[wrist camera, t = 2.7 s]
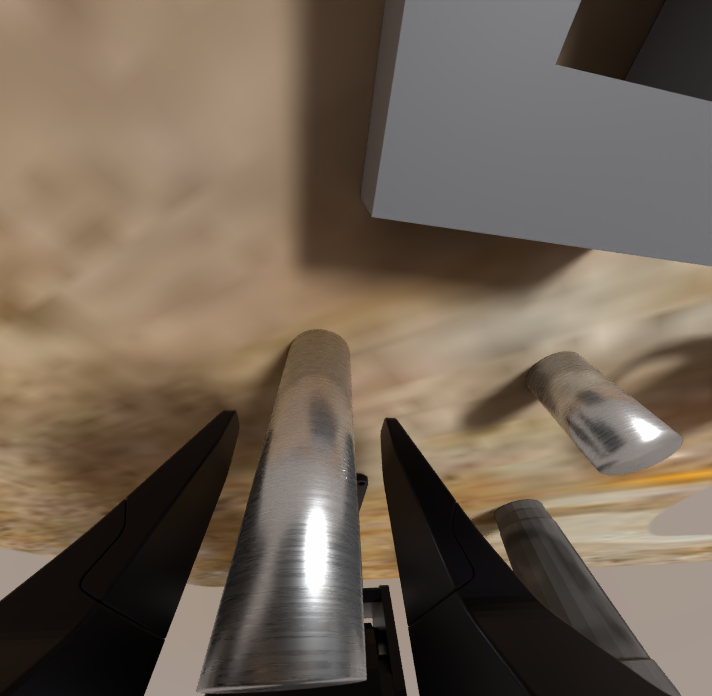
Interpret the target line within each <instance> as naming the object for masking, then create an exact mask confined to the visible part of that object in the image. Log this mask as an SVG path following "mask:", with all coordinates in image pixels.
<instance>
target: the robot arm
mask: <svg viewBox="0 0 712 696" xmlns="http://www.w3.org/2000/svg"><path fill="white" fill-rule="evenodd" d="M238 433H239V420H238V415H237V412H236V411H235V410H223V411H222V412H221V413H220V414H218V415H217V416H216V417H215V418H214V419H213V420H212V421H211V422H210V423H208V424H207V425H206V426H205V427H204V428H203V429H202V430H201V431H200V432H198V433H197V434H196V435H195V436H194V437H193V438H192V439H191V440H190V441H188V442H187V443H186V444H185V445H184V446H183V447H182V448H181V449H180V450H178V451H177V452H176V453H175V454H174V455H173V456H172V457H171V458H170V459H168V460H167V461H166V462H165V463H164V464H163V465H162V466H161V467H160V468H158V469H157V470H156V471H155V472H154V473H153V474H152V475H151V476H149V477H148V478H147V479H146V480H145V481H144V482H143V483H142V484H141V485H139V486H138V487H137V488H136V489H135V490H134V491H133V492H132V493H131V494H129V495H128V496H127V498H126V499H124V500H123V501H122V502H120V503H119V504H118V505H117V506H116V507H115V508H114V509H113V510H112V511H110V512H109V513H108V514H107V515H106V516H105V517H104V518H102V519H101V520H100V521H99V522H98V523H97V524H95V525H94V526H93V527H92V528H91V529H90V530H89V531H87V532H86V533H85V534H84V535H82V536H81V537H80V538H79V539H77V540H76V541H75V542H74V543H73V544H71V545H70V546H69V547H68V548H66V549H65V550H64V551H63V552H62V553H60V554H59V555H58V556H56V557H55V558H54V559H53V560H51V561H50V562H49V563H48V564H46V565H45V566H44V567H43V568H41V569H40V570H39V571H37V572H36V573H35V574H34V575H33V576H31V577H30V578H29V579H27V580H26V581H25V582H24V583H22V584H21V585H20V586H18V587H17V588H16V589H15V590H13V591H12V592H11V593H10V594H8V595H7V596H6V597H5V598H3V599H2V600H1V601H0V696H144V694H145V691H146V689H147V686H148V683H149V681H150V678H151V675H152V673H153V670H154V668H155V665H156V662H157V660H158V657H159V654H160V652H161V649H162V646H163V644H164V641H165V638H166V636H167V633H168V630H169V627H170V625H171V622H172V620H173V617H174V615H175V612H176V609H177V607H178V604H179V601H180V599H181V596H182V593H183V591H184V588H185V586H186V583H187V580H188V578H189V575H190V572H191V570H192V567H193V564H194V562H195V559H196V557H197V554H198V551H199V549H200V546H201V543H202V541H203V538H204V535H205V533H206V530H207V528H208V525H209V522H210V520H211V517H212V514H213V512H214V509H215V507H216V504H217V501H218V499H219V496H220V493H221V491H222V488H223V485H224V483H225V480H226V477H227V474H228V471H229V468H230V464H231V460H232V456H233V452H234V448H235V444H236V440H237V437H238ZM381 454H382V471H383V481H384V487H385V493H386V499H387V505H388V511H389V517H390V523H391V529H392V535H393V540H394V546H395V552H396V558H397V564H398V570H399V576H400V582H401V588H402V594H403V600H404V606H405V612H406V618H407V624H408V626H409V627H408V630H409V636H410V641H411V648H412V653H413V660H414V666H415V671H416V677H417V683H418V689H419V695H420V696H672V695H670V694H668V693H666V692H665V691H663V690H661V689H659V688H658V687H656V686H655V685H653V684H652V683H650V682H649V681H647V680H646V679H644V678H643V677H641V676H640V675H639V674H637V673H636V672H634V671H633V670H632V669H630V668H629V667H627V666H626V665H625V664H623V663H622V662H620V661H619V660H618V659H616V658H615V657H613V656H612V655H611V654H609V653H608V652H606V651H605V650H604V649H602V648H601V647H600V646H598V645H597V644H595V643H594V642H593V641H591V640H590V639H588V638H587V637H586V636H584V635H583V634H581V633H580V632H579V631H577V630H576V629H574V628H573V627H572V626H570V625H569V624H567V623H566V622H565V621H563V620H562V619H560V618H559V617H558V616H556V615H555V614H554V613H553V612H551V611H550V610H549V609H548V608H547V607H546V606H545V605H543V604H542V603H541V602H540V601H539V600H538V599H537V598H536V597H535V596H534V595H533V594H532V593H531V591H530V590H529V589H528V588H527V587H526V586H525V585H524V584H523V582H522V581H521V580H520V579H519V578H518V577H517V575H516V574H515V573H514V572H513V571H512V570H511V568H510V567H509V566H508V565H507V564H506V563H505V561H504V560H503V559H502V558H501V557H500V556H499V554H498V553H497V552H496V551H495V550H494V549H493V547H492V546H491V545H490V544H489V543H488V541H487V540H486V539H485V538H484V537H483V535H482V534H481V533H480V532H479V531H478V529H477V528H476V527H475V525H474V524H473V523H472V521H471V520H470V519H469V518H468V516H467V515H466V514H465V512H464V511H463V509H462V508H461V507H460V505H459V504H458V503H457V502H456V500H455V499H454V497H453V496H452V494H451V493H450V492H449V490H448V489H447V488H446V486H445V485H444V483H443V482H442V481H441V479H440V478H439V477H438V475H437V474H436V472H435V471H434V470H433V468H432V467H431V466H430V464H429V463H428V462H427V460H426V459H425V457H424V456H423V455H422V453H421V452H420V451H419V449H418V448H417V446H416V445H415V444H414V442H413V441H412V440H411V438H410V437H409V435H408V434H407V433H406V431H405V430H404V429H403V427H402V426H401V424H400V423H399V422H398V420H397V419H395V418H385V420H384V423H383V426H382V429H381ZM356 480H357V499H358V518H359V511H360V508H361V505H362V502H363V498H364V495H365V492H366V489H367V486H368V477H367V476H365V475H356ZM359 538H360V525H359ZM360 557H361V543H360ZM361 576H362V562H361ZM362 595H363V615H364V618H373V627H372V625H371V623H364V634H365V653H366V673H367V680H365V681H361V682H357V683H351V684H344V685H336V686H327V687H318V688H307V689H296V690H283V691H268V692H250V693H219V694H213V693H205V696H407V694H406V687H405V681H404V675H403V670H402V663H401V658H400V651H399V645H398V639H397V633H396V628H395V621H394V615H393V609H392V603H391V598H390V592H389V586H388V585H380V586H379V588H363V580H362Z"/></svg>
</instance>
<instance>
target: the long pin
mask: <svg viewBox="0 0 712 696" xmlns="http://www.w3.org/2000/svg"><path fill="white" fill-rule="evenodd" d="M365 680H367V673H366V653H365V634H364V615H363V595H362V576H361V557H360V538H359V518H358V499H357V480H356V461H355V441H354V422H353V403H352V384H351V364H350V351H349V347H348V345H347V343H346V342H345V341H344V340H343V339H342V338H341V337H340V336H339V335H337V334H335V333H333V332H330V331H327V330H318V329H317V330H310V331H306V332H304V333H302V334H300V335H298V336H297V337H296V338H295V339H294V340H293V342H292V343H291V346H290V349H289V352H288V356H287V360H286V363H285V367H284V371H283V374H282V378H281V382H280V385H279V389H278V393H277V396H276V400H275V404H274V407H273V411H272V415H271V418H270V422H269V426H268V429H267V433H266V437H265V440H264V444H263V448H262V451H261V455H260V459H259V462H258V466H257V470H256V473H255V477H254V481H253V484H252V488H251V492H250V495H249V499H248V503H247V506H246V510H245V514H244V517H243V521H242V525H241V528H240V532H239V535H238V539H237V543H236V546H235V550H234V554H233V557H232V561H231V565H230V568H229V572H228V576H227V579H226V583H225V587H224V590H223V594H222V598H221V602H220V605H219V609H218V612H217V616H216V620H215V623H214V627H213V631H212V634H211V638H210V642H209V646H208V649H207V653H206V656H205V660H204V664H203V667H202V671H201V675H200V678H199V682H198V686H197V689H196V692H197V693H213V694H219V693H250V692H268V691H283V690H296V689H307V688H318V687H327V686H336V685H344V684H351V683H357V682H361V681H365Z"/></svg>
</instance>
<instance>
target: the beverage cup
mask: <svg viewBox="0 0 712 696" xmlns="http://www.w3.org/2000/svg"><path fill="white" fill-rule="evenodd" d="M494 516H495V518H496V521H497V525H498V528H499V531H500V535H501V538H502V541H503V544H504V547H505V549H506V552H507V555H508V558H509V561H510V564H511V566H512V569H513V572H514V573H515V574H516V575H517V577H518V578H519V579H520V580H521V581H522V582H523V584H524V585H525V586H526V587H527V588H528V589H529V590H530V591H531V593H532V594H533V595H534V596H535V597H536V598H537V599H538V600H539V601H540V602H541V603H542V604H543V605H545V606H546V607H547V608H548V609H549V610H550V611H551V612H553V613H554V614H555V615H556V616H558V617H559V618H560V619H562V620H563V621H565V622H566V623H567V624H569V625H570V626H572V627H573V628H574V629H576V630H577V631H579V632H580V633H581V634H583V635H584V636H586V637H587V638H588V639H590V640H591V641H593V642H594V643H595V644H597V645H598V646H600V647H601V648H602V649H604V650H605V651H606V652H608V653H609V654H611V655H612V656H613V657H615V658H616V659H618V660H619V661H620V662H622V663H623V664H625V665H626V666H627V667H629V668H630V669H632V670H633V671H634V672H636V673H637V674H639V675H640V676H641V677H643V678H644V679H646V680H647V681H649V682H650V683H652V684H653V685H655V686H656V687H658V688H659V689H661V690H663V691H665V692H666V693H668V694H670V695H672V696H681V695H680V693H679V692H678V690H677V689H676V687H675V686H674V685H673V684H672V682H671V681H670V680H669V679H668V677H667V676H666V675H665V673H664V672H663V671H662V670H661V668H660V667H659V666H658V665H657V663H656V662H655V661H654V660H653V659H651V658H650V657H649V656H648V654H647V653H646V651H645V650H644V648H643V647H642V645H641V644H640V643H639V641H638V640H637V638H636V637H635V635H634V634H633V633H632V631H631V630H630V628H629V627H628V626H627V624H626V622H625V621H624V620H623V618H622V617H621V615H620V614H619V612H618V611H617V609H616V608H615V607H614V605H613V604H612V602H611V601H610V600H609V598H608V596H607V595H606V594H605V592H604V591H603V589H602V588H601V586H600V585H599V583H598V582H597V581H596V579H595V578H594V576H593V575H592V573H591V572H590V571H589V569H588V568H587V566H586V565H585V563H584V562H583V560H582V559H581V558H580V556H579V555H578V553H577V552H576V550H575V549H574V547H573V546H572V545H571V543H570V542H569V540H568V539H567V537H566V536H565V535H564V533H563V532H562V530H561V529H560V527H559V526H558V524H557V523H556V522H555V521H554V520H553V519H552V517H551V516H550V514H549V513H548V512H547V511H546V509H545V508H544V506H543V504H542V503H541V502H539V501H536V500H521V501H516V502H512V503H509V504H507V505H504V506H502V507H501V508H499V509H498V510H497V511H496V512H495V514H494Z"/></svg>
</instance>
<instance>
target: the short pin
mask: <svg viewBox="0 0 712 696" xmlns="http://www.w3.org/2000/svg"><path fill="white" fill-rule="evenodd" d="M526 385H527V387H528V388H529V389H530V391H531V392H532V393H533V394H534V395H535V396H536V398H537V399H538V400H539V401H540V402H541V404H542V405H543V406H544V407H545V408H546V410H547V411H548V412H549V413H550V414H551V415H552V417H553V418H554V419H555V420H556V421H557V423H558V424H559V425H560V426H561V427H562V429H563V430H564V431H565V432H566V433H567V434H568V436H569V437H570V438H571V439H572V440H573V442H574V443H575V444H576V445H577V446H578V448H579V449H580V450H581V451H582V452H583V453H584V455H585V456H586V457H587V458H588V459H589V461H590V462H591V463H592V464H593V465H594V467H595V468H596V469H597V470H598V471H599V472H600V473H602V474H606V475H621V474H627V473H632V472H636V471H639V470H642V469H645V468H648V467H650V466H653V465H655V464H657V463H659V462H661V461H663V460H664V459H666V458H668V457H669V456H671V455H672V454H673V453H674V452H676V451H677V450H678V449H679V447H680V446H681V444H682V441H683V439H682V437H681V436H680V435H679V434H678V433H677V432H675V431H674V430H673V429H672V428H670V427H669V426H668V425H667V424H665V423H664V422H663V421H662V420H660V419H659V418H658V417H657V416H655V415H654V414H653V413H652V412H650V411H649V410H648V409H647V408H645V407H644V406H643V405H641V404H640V403H639V402H638V401H636V400H635V399H634V398H633V397H631V396H630V395H629V394H628V393H626V392H625V391H624V390H623V389H621V388H620V387H619V386H618V385H616V384H615V383H614V382H613V381H611V380H610V379H609V378H608V377H606V376H605V375H604V374H603V373H601V372H600V371H599V370H598V369H596V368H595V367H594V366H593V365H591V364H590V363H589V362H588V361H586V360H585V359H584V358H583V357H581V356H580V355H579V354H577V353H575V352H559V353H555V354H552V355H550V356H548V357H546V358H544V359H542V360H541V361H539V362H538V363H537V364H536V365H534V366H533V367H532V369H531V370H530V371H529V373H528V375H527V377H526Z"/></svg>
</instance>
